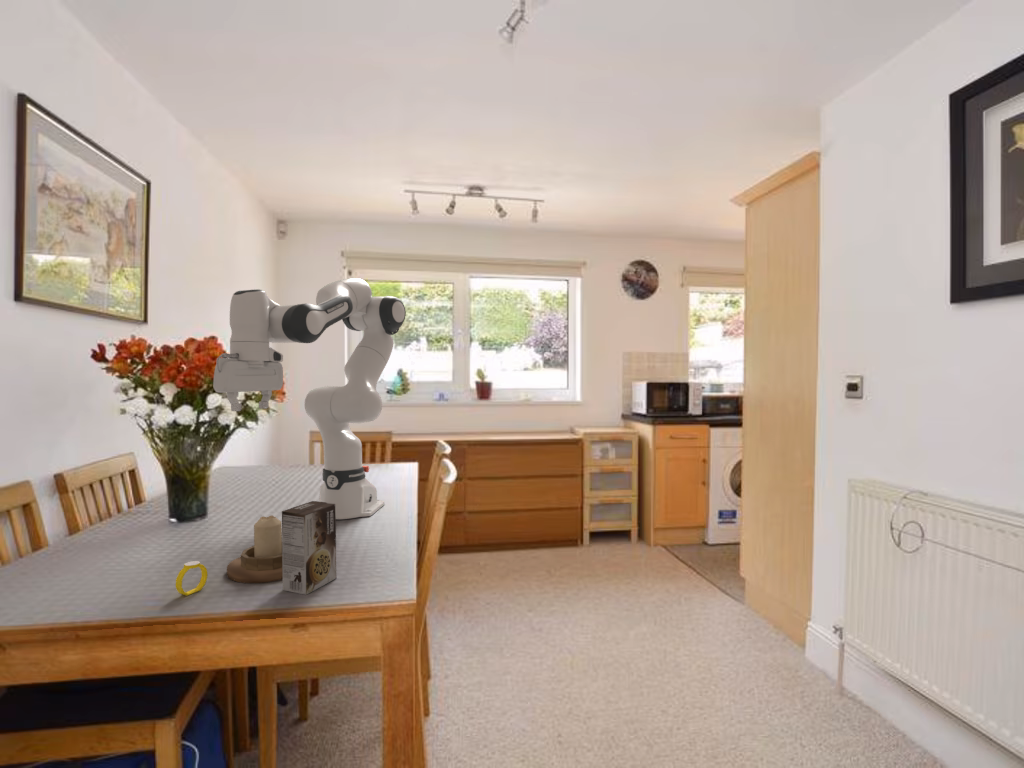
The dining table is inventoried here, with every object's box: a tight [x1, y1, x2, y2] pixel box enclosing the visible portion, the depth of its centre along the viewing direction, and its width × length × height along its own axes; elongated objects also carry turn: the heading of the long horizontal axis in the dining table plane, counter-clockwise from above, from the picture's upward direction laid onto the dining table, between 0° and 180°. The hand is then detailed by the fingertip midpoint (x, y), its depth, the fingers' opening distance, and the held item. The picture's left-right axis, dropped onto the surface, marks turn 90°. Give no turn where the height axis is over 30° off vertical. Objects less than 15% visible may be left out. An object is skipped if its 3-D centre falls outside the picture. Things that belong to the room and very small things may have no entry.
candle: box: [253, 515, 282, 558], centre depth 118 cm, size 6×6×10 cm
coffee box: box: [281, 500, 337, 596], centre depth 110 cm, size 9×6×16 cm
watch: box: [175, 560, 209, 596], centre depth 106 cm, size 6×3×6 cm, turn 159°
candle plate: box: [226, 545, 283, 584], centre depth 119 cm, size 17×17×4 cm
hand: (250, 409), depth 133 cm, fingers open, 8 cm apart
